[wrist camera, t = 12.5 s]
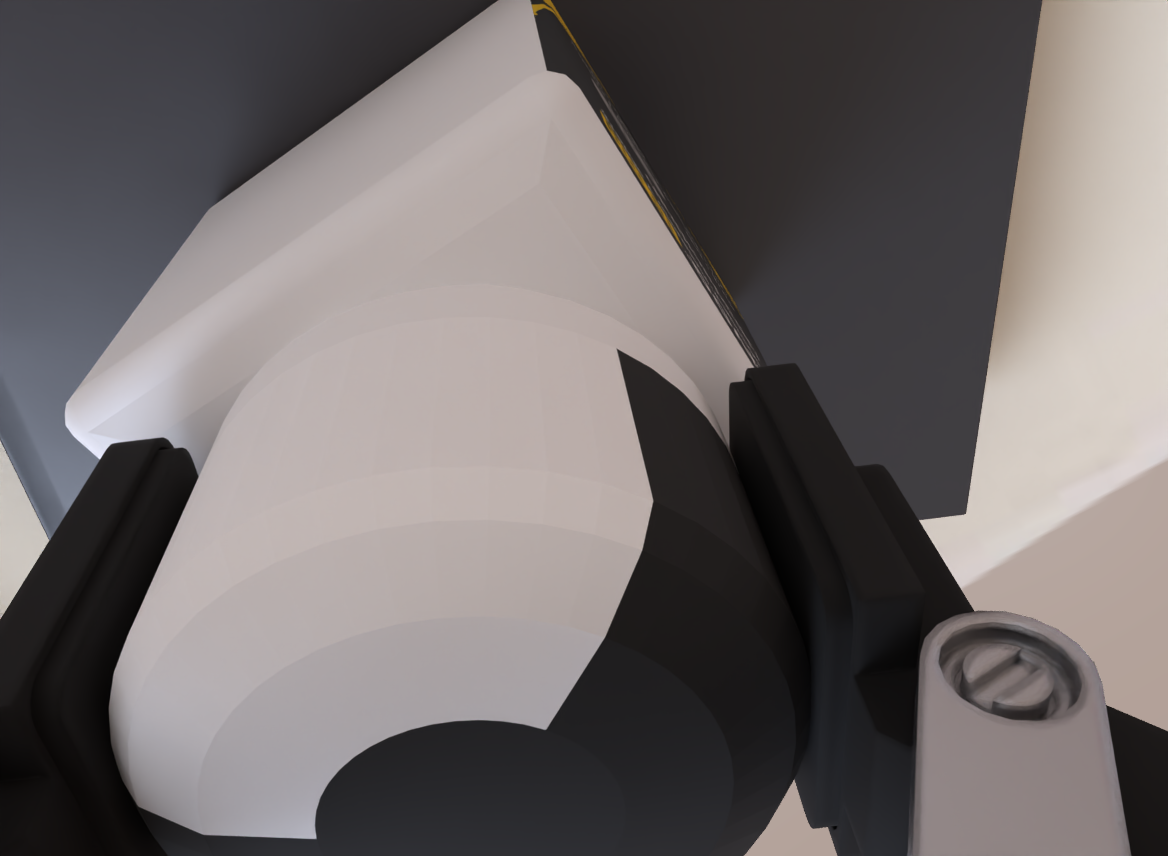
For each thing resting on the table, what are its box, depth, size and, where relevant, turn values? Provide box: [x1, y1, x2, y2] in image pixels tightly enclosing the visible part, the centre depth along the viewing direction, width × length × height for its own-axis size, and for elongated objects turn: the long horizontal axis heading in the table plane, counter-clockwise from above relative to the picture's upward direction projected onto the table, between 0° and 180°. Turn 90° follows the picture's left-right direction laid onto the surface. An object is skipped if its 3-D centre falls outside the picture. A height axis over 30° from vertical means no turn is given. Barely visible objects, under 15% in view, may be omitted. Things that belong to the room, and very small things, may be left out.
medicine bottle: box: [65, 0, 811, 856], centre depth 13 cm, size 7×7×12 cm
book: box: [0, 0, 1042, 541], centre depth 19 cm, size 20×15×3 cm
